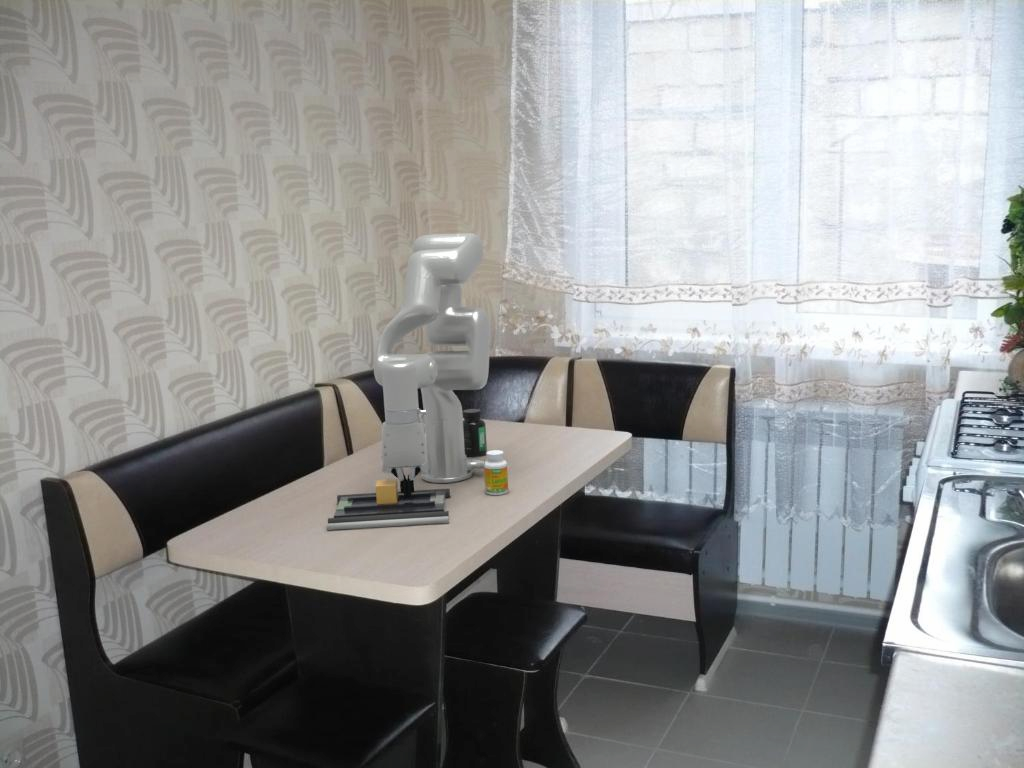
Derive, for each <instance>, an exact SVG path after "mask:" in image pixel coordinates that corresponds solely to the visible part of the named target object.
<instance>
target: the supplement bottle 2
mask: <svg viewBox="0 0 1024 768" xmlns="http://www.w3.org/2000/svg"><path fill="white" fill-rule="evenodd" d="M504 455H505V454H504V451H503V450H500V449H499V450H498V449H493V450H487V453H486V456H485V457H486V459H487V460H485V462H483V463H484V468H483V469H484V471H483V472H484V486H485V487H484V488H485V489H484V490H485V494H486V495H489V496H503V495H505V494H507V493H508V492H509V478H508V462H507V461H506V460H505V459H504V457H505V456H504Z"/></svg>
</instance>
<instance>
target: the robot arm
mask: <svg viewBox="0 0 1024 768" xmlns="http://www.w3.org/2000/svg"><path fill="white" fill-rule="evenodd" d="M412 250H413V253H412V254H411V255H410V257H409V258H408V262H407V268H406V273H405V282H404V289H403V296H402V302H401V303H402V304H401V309H400V310H399V312H398V313H397V314H396V315H395V316H394V317H393V318H392V319H391V320H390V321H389V322H388V323H387V325H386V326H385V327H384V329H383V330H382V332H381V334H380V335H379V337H378V340H377V343H376V350H375V356H374V362H373V363H374V364H373V375H374V378H375V381H376V382H377V383H378V384H379V385H380V386H381V387H382V391H383V406H384V407H383V408H384V418H385V421H384V422H382V425H381V462H382V466H381V472H382V473H386V474H392V475H393V476H395V477H396V479H397V480H398V481H399V482H400V483H399V487H400V491H401V493H404V498H407V496H408V497H409V498H411V496H412V493H414V491H415V481H414V480H415V478H416V477H417V476H418V475H419V473H421V478H422V480H423V481H425V482H428V483H429V482H430V483H436V484H437V483H439V484H440V483H441V484H444V483H445V484H446V483H456V482H462V481H464V480H466V479H467V480H468V479H469V478H471V477H472V476H473V470H472V469H477V470H478V469H484V463H485V462H484V460H479V458H478V459H469V458H468V457H466V455H465V448H464V431H463V420H464V418H463V406H462V403H461V401H460V400H459V398H458V396H457V395H456V394H455V392H454V391H477V390H481V389H483V388H484V387H485V386H486V385H487V383H488V378H489V369H490V352H491V349H490V348H491V347H490V346H491V323H490V318H489V315H488V313H487V311H486V310H485V309H484V308H481V307H478V306H462V295H463V290H462V289H463V288H462V286H461V285H465V284H466V283H467V282H468V281H469V280H470V279H471V277H473V276H474V275H473V274H474V273H475V272H476V271H477V270H478V269H479V266H480V265H481V263H482V261H483V257H484V245H483V241H482V238H480V236H478V235H477V234H476V233H472V232H463V233H462V232H461V233H433V234H425V235H421V236H419V237H417V238H416V239H415V240H414V242H413V247H412ZM424 326H425V336H426V340H427V341H428V342H429V344H431V345H433V346H438V347H439V346H440V347H468V350H432V351H428V352H425V353H423V354H421V353H420V354H419V353H418V354H417V353H416V354H415V353H414V354H411V353H394V351H395V348H396V346H397V345H398V344H399V342H400V341H401V340H402V339H404V337H405V336H407V335H408V334H410V333H412V332H414V331H415V330H418V329H419V328H420V329H421V328H422V327H424ZM419 389H420V391H421V399H422V407H423V409H421V408H420V407H419V391H418V390H419ZM422 416H424V422H423V420H421V419H419V418H421V417H422ZM404 468H409V473H408V475H407V477H406V475H405V472H404Z"/></svg>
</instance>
